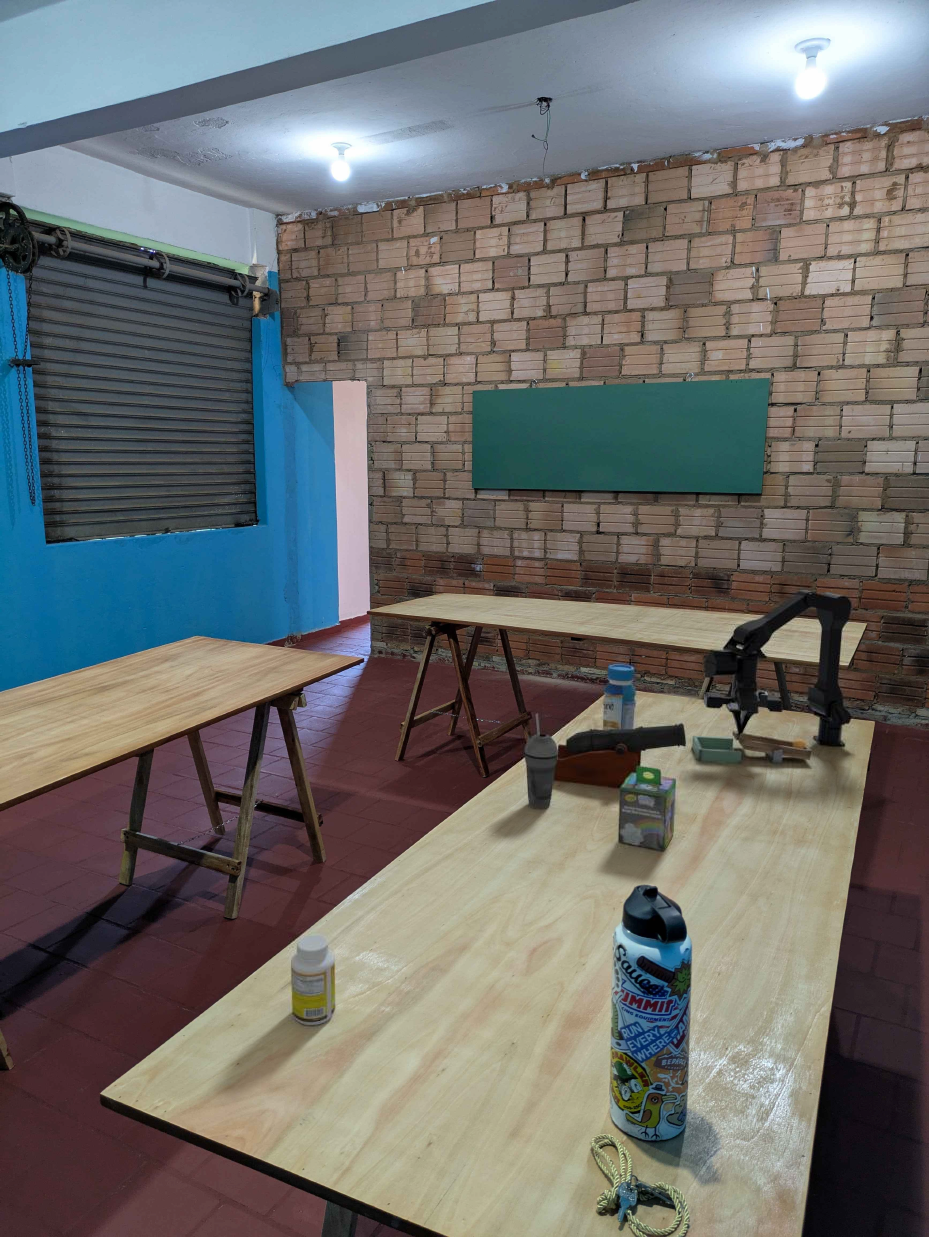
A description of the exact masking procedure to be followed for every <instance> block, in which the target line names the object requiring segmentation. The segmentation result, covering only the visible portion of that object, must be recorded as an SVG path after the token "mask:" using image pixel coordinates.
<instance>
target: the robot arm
mask: <svg viewBox="0 0 929 1237" xmlns="http://www.w3.org/2000/svg"><path fill="white" fill-rule="evenodd" d="M810 608H814V609H816V617H817V620H818V622H819V625H820V627H821V631H820V632H821V633H820V647H819V659H818V671H817V672H818V673H817V681H816V682H815V684H814V685H813V686H808V687H807V690H808V694H807V695H808V696H807V699H806V701H807V702H808V705H809V707H810V709H811V710H812V714H813V716H815V717H818V720H819V721H818V729H817V735H813V736H812V738H813V739H814V740H815V741H816V742H817V744H819V745H822V746H837V747H838V746H841V747H845V746H846V743H845V742H844V741H843V740H842V732H843V726H845V725H849V724H850V722H851V720H852V716H853V715H852V714H851V713H850V712H849V711H848V710H847V709H846V708H845V704H844V703H845V702H844V695H843V694H844V693H843V691H842V689H841V687H840V685H839V675H840V665H841V664H840V663H841V651H842V650H841V648H842V640H843V638H842V636H843V629H844V628H845V626H846V624H847V623H848V622H849V620H850V616H851V612H852V608H853V604H852V600H850V599H849V597H847V596H845V595H841V594H837V593H832V592H823V593H822V594H820V593H819V594H818V593H816V592H814V591H812V590H806V589H800V590H798V591H796V592H795V594H794V595H792V596H791V597H790V598H788V599H786V600H785V601H784V602H782V603H781V604H780V605H777V606H776V607H775V608H773V609H772V610H770V611H769V612H768V613H766V614H764V615H763V616H762V617H760V618H757V619H754V620H753V619H752V620H750V621H749V620H748V621H746V622H744V623H742V624H740V625H738V626H736V627H735V629H733V633H732V635H731V636H730V638H729V639H728V640H727V642H726V643H725V645H724V646H723V647H722V649H710V650H709V654H707V655H706V658H705V660H704V663H703V666H704V667H703V668H704V672H705V673H706V675H707V676H708V677H709V678H710V677H711V678H716V677H719V678H720V677H732V687H731V691H730V692H731V696H730V697H729V696H723V695H722V694H721V692H710V691H707V692H705V693H704V694H703V703H704V706H705V707H706V708H708V709H721V708H722V707H723V706H724V705H725V707H726V708H727V709H726V710H727V711H728V712H729V713H731V714H732V716H733V720H734V724H735V727H736V731H738V734H739V735H740V733H743V732H744V731H745V729H746V727H747V725H748V723H749V721H750V719H751V718H752V716H754V715H757V714H759V712H760V711H759V709H760V708H759V707H761V708H762V707H763V708H765V707H766V708H767V710H768V711H769V713H770V712H772V713H774V712H775V713H783V709H784V703H783V701H782V700H781V699H780V698H779V697H778V696H777V695H769V694H768V692H767V691H758V682H757V680H758V670H759V668H758V667H759V661H760V660H763V659H767V658H768V656H767V655H766V654H765V653H764V652H763V651H762V649H763V647H764V646H765V645H766V644H767V643H769V641H770V640H771V639H772V638H771V637H772V636H773V634H775V632H777V631H778V630H780V629H781V628H782V627H784V626H786V625H787V624H788V623H789V622H791V621H792V620H794V619H795V618H797V617H798V616H800V615H801V614H802V613H804V612H805V611H807V610H808V609H810Z"/></svg>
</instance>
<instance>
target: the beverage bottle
mask: <svg viewBox="0 0 929 1237" xmlns="http://www.w3.org/2000/svg"><path fill="white" fill-rule="evenodd" d="M634 679H635V667H633V666H632V665H629V664H619V663H618V664H617V663H616V664H610V665H609V666H608V667H607V680H609V681H608V682H607V683H606V685H605V687H604V690H603V694H604V698H603V699H602V706H603V710H602V712H603V715H602V718H603V719H602V730H608V731H609V730H610V729H634V723H635V709H636V705H637V701H636V699H635V697H636V695H637V692H636V688H635V686H634V684H633V681H634Z"/></svg>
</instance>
